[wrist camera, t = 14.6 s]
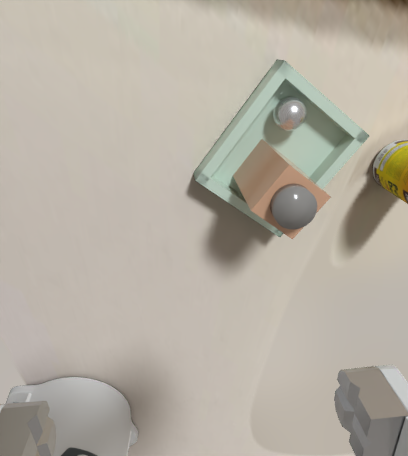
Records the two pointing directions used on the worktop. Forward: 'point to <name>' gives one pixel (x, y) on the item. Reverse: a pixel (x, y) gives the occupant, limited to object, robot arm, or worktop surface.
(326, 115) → the tray
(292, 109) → the mixing ball
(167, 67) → the worktop surface
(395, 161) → the supplement bottle
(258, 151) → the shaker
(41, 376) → the worktop surface
